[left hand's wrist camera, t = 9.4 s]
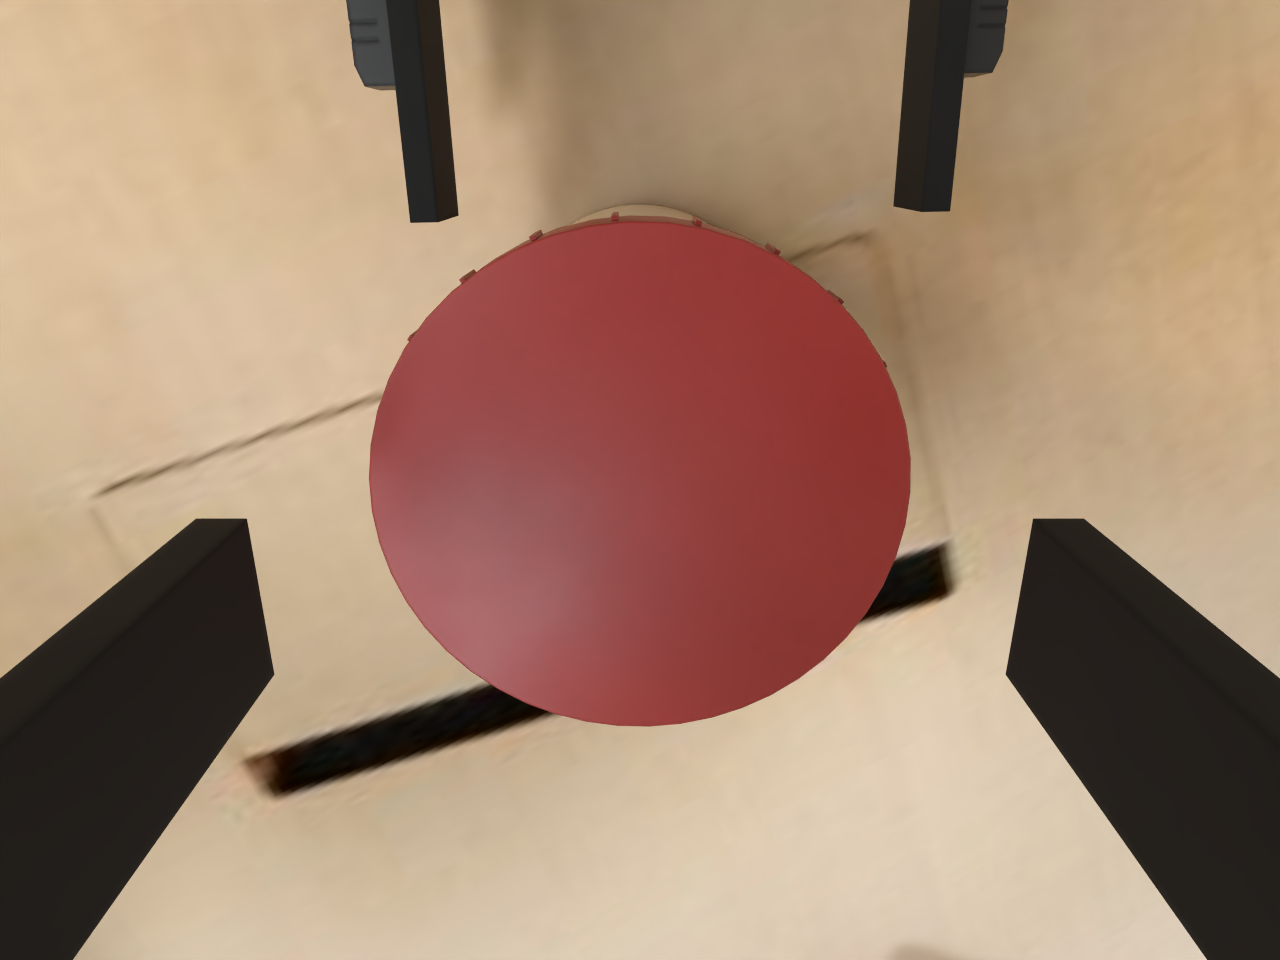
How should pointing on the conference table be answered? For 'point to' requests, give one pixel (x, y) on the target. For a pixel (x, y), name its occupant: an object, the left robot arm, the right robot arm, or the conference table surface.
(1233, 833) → the left robot arm
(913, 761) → the conference table surface
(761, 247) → the lid
